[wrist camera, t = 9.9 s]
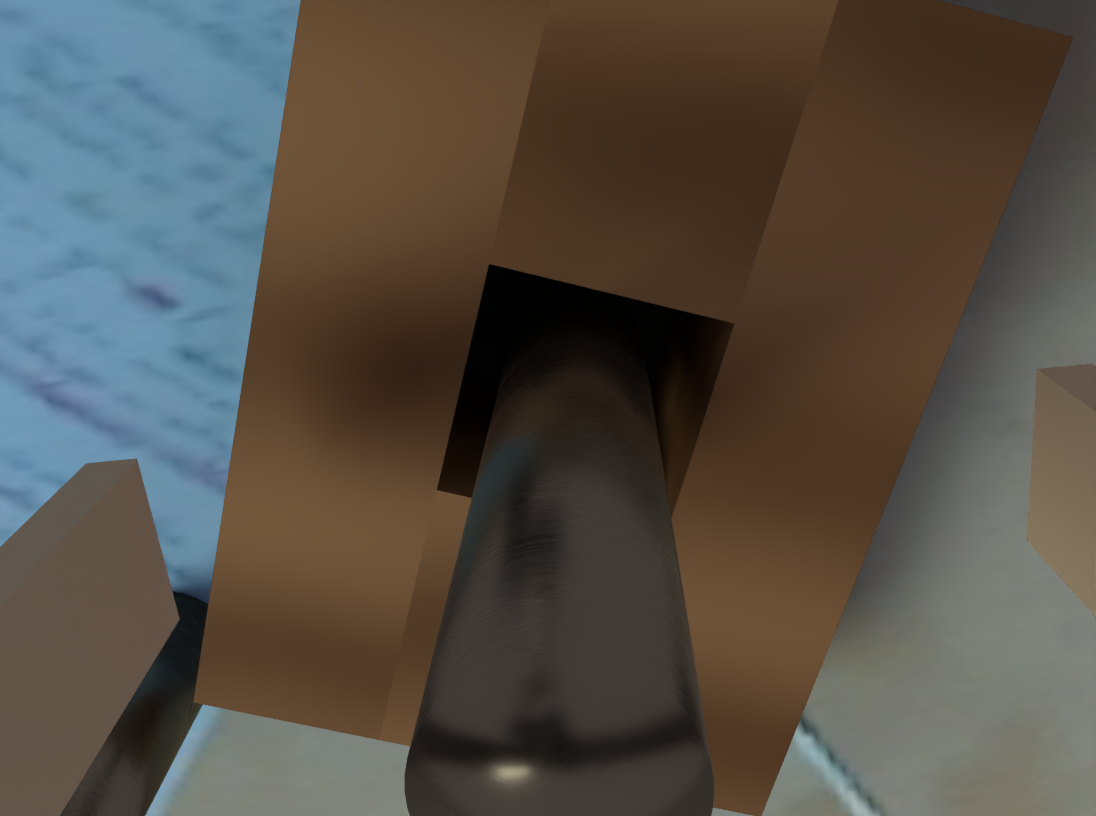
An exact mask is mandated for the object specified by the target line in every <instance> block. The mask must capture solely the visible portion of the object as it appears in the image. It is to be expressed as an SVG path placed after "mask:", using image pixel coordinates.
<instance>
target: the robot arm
mask: <svg viewBox="0 0 1096 816" xmlns="http://www.w3.org/2000/svg"><path fill="white" fill-rule="evenodd" d="M1027 541H1028V542H1029V543H1030V545H1031V546H1032V547H1033V548H1034V549H1035V550H1036V551H1037V552H1038V553H1039V555H1040V556H1041V557H1042V558H1043V559H1044V560H1045V561H1046V562H1047V563H1048V564H1049V566H1050V567H1051V568H1052V569H1053V570H1054V571H1055V572H1056V573H1057V574H1058V576H1059V577H1060V578H1061V579H1062V580H1063V581H1064V582H1065V583H1066V584H1067V585H1068V587H1069V588H1070V589H1071V590H1072V591H1073V592H1074V593H1075V594H1076V595H1077V597H1078V598H1079V599H1080V600H1081V601H1082V602H1083V603H1084V604H1085V605H1086V606H1087V608H1088V609H1089V610H1090V611H1091V612H1092V613H1093V614H1094V615H1095V616H1096V366H1094V365H1093V364H1086V365H1076V366H1066V367H1056V368H1045V369H1037V382H1036V398H1035V414H1034V431H1033V447H1032V463H1031V480H1030V496H1029V512H1028V529H1027ZM179 619H180V618H179V615H178V611H177V607H176V603H175V600H174V596H173V592H172V588H171V585H170V581H169V577H168V573H167V570H166V566H165V562H164V558H163V555H162V551H161V547H160V543H159V540H158V536H157V532H156V528H155V525H154V521H153V517H152V513H151V510H150V506H149V502H148V498H147V495H146V491H145V487H144V483H143V480H142V476H141V472H140V469H139V465H138V461H137V459H127V460H117V461H107V462H97V463H87V464H85V465H84V466H83V467H82V468H81V469H80V470H79V471H78V472H77V473H76V474H75V475H74V476H73V477H72V478H71V479H70V480H69V481H68V482H67V483H66V484H65V485H64V486H63V487H61V488H60V489H59V490H58V491H57V492H56V493H55V494H54V495H53V496H52V497H51V498H50V499H49V500H48V501H47V502H46V503H45V504H44V505H43V506H42V507H41V508H40V509H39V510H38V511H37V512H36V513H35V514H34V515H33V516H32V517H31V518H30V519H29V520H28V521H27V522H26V523H24V524H23V525H22V526H21V527H20V528H19V529H18V530H17V531H16V532H15V533H14V534H13V535H12V536H11V537H10V538H9V539H8V540H7V541H6V542H5V543H4V544H3V545H2V546H1V547H0V816H60V815H61V813H62V811H63V810H64V808H65V806H66V805H67V803H68V801H69V800H70V798H71V797H72V795H73V793H74V792H75V790H76V788H77V787H78V785H79V783H80V782H81V780H82V779H83V777H84V775H85V774H86V772H87V770H88V769H89V767H90V765H91V764H92V762H93V760H94V759H95V757H96V756H97V754H98V752H99V751H100V749H101V747H102V746H103V744H104V742H105V741H106V739H107V738H108V736H109V734H110V733H111V731H112V729H113V728H114V726H115V724H116V723H117V721H118V719H119V718H120V716H121V715H122V713H123V711H124V710H125V708H126V706H127V705H128V703H129V701H130V700H131V698H132V697H133V695H134V693H135V692H136V690H137V688H138V687H139V685H140V683H141V682H142V680H143V679H144V677H145V675H146V674H147V672H148V670H149V669H150V667H151V665H152V664H153V662H154V660H155V659H156V657H157V656H158V654H159V652H160V651H161V649H162V647H163V646H164V644H165V642H166V641H167V639H168V638H169V636H170V634H171V633H172V631H173V629H174V628H175V626H176V624H177V623H178V621H179Z"/></svg>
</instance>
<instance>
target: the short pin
mask: <svg viewBox="0 0 1096 816" xmlns="http://www.w3.org/2000/svg"><path fill="white" fill-rule="evenodd" d="M173 596H174V600H175V603H176V607H177V611H178V615H179V618H180V619H179V621H178V623H177V624H176V626H175V628H174V629H173V631H172V633H171V634H170V636H169V638H168V639H167V641H166V642H165V644H164V646H163V647H162V649H161V651H160V652H159V654H158V656H157V657H156V659H155V660H154V662H153V664H152V665H151V667H150V669H149V670H148V672H147V674H146V675H145V677H144V679H143V680H142V682H141V683H140V685H139V687H138V688H137V690H136V692H135V693H134V695H133V697H132V698H131V700H130V701H129V703H128V705H127V706H126V708H125V710H124V711H123V713H122V715H121V716H120V718H119V719H118V721H117V723H116V724H115V726H114V728H113V729H112V731H111V733H110V734H109V736H108V738H107V739H106V741H105V742H104V744H103V746H102V747H101V749H100V751H99V752H98V754H97V756H96V757H95V759H94V760H93V762H92V764H91V765H90V767H89V769H88V770H87V772H86V774H85V775H84V777H83V779H82V780H81V782H80V783H79V785H78V787H77V788H76V790H75V792H74V793H73V795H72V797H71V798H70V800H69V801H68V803H67V805H66V806H65V808H64V810H63V811H62V813H61V815H60V816H145V815H146V813H147V811H148V809H149V807H150V805H151V803H152V801H153V799H154V797H155V796H156V794H157V792H158V790H159V788H160V786H161V784H162V782H163V780H164V778H165V776H166V774H167V772H168V770H169V768H170V767H171V765H172V763H173V761H174V759H175V757H176V755H177V753H178V751H179V749H180V747H181V745H182V743H183V741H184V740H185V738H186V736H187V734H188V732H189V730H190V728H191V726H192V724H193V722H194V720H195V718H196V716H197V714H198V713H199V711H200V709H201V707H202V705H203V704H199V703H194V695H195V689H196V682H197V676H198V669H199V663H200V656H201V650H202V643H203V637H204V630H205V623H206V617H207V610H208V605H207V604H205V603H204V602H202V601H200V600H198V599H196V598H194V597H192V596H189V595H185V594H180V593H173Z"/></svg>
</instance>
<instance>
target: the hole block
mask: <svg viewBox="0 0 1096 816" xmlns="http://www.w3.org/2000/svg"><path fill="white" fill-rule="evenodd" d="M1072 39H1073V37H1070V36H1067V35H1063V34H1060V33H1056V32H1052V31H1049V30H1045V29H1041V28H1038V27H1034V26H1030V25H1027V24H1023V23H1019V22H1016V21H1012V20H1009V19H1005V18H1001V17H998V16H994V15H990V14H987V13H983V12H979V11H976V10H972V9H968V8H965V7H961V6H958V5H954V4H950V3H947V2H943V1H939V0H301V3H300V9H299V16H298V22H297V29H296V35H295V42H294V48H293V55H292V61H291V68H290V75H289V81H288V88H287V94H286V101H285V107H284V114H283V120H282V127H281V133H280V140H279V146H278V153H277V159H276V166H275V173H274V179H273V186H272V192H271V199H270V205H269V212H268V218H267V225H266V231H265V238H264V244H263V251H262V258H261V264H260V271H259V277H258V284H257V290H256V297H255V303H254V310H253V316H252V323H251V329H250V336H249V342H248V349H247V356H246V362H245V369H244V375H243V382H242V388H241V395H240V401H239V408H238V414H237V421H236V427H235V434H234V440H233V447H232V454H231V460H230V467H229V473H228V480H227V486H226V493H225V499H224V506H223V512H222V519H221V525H220V532H219V539H218V545H217V552H216V558H215V565H214V571H213V578H212V584H211V591H210V597H209V604H208V610H207V617H206V623H205V630H204V637H203V643H202V650H201V656H200V663H199V669H198V676H197V682H196V689H195V695H194V703H199V704H204V705H209V706H214V707H219V708H224V709H229V710H234V711H239V712H244V713H248V714H253V715H258V716H263V717H268V718H273V719H278V720H283V721H288V722H293V723H298V724H303V725H308V726H313V727H318V728H323V729H328V730H333V731H338V732H343V733H347V734H352V735H357V736H362V737H367V738H372V739H377V740H382V741H387V742H392V743H397V744H402V745H407V746H411V742H412V738H413V734H414V730H415V726H416V722H417V717H418V713H419V709H420V705H421V701H422V697H423V693H424V689H425V685H426V681H427V677H428V673H429V669H430V665H431V661H432V657H433V653H434V649H435V645H436V641H437V636H438V632H439V628H440V624H441V620H442V616H443V612H444V608H445V604H446V600H447V596H448V592H449V588H450V584H451V580H452V576H453V572H454V568H455V564H456V560H457V555H458V551H459V547H460V543H461V539H462V535H463V531H464V527H465V523H466V519H467V515H468V511H469V507H470V503H471V499H472V495H473V491H474V487H475V483H476V479H477V474H478V470H479V466H480V462H481V458H482V454H483V450H484V446H485V442H486V438H487V434H488V430H489V426H490V422H491V418H492V414H493V410H494V406H495V402H496V398H497V393H498V392H497V391H493V390H489V389H485V388H480V387H476V386H472V385H467V384H463V383H462V381H463V376H464V372H465V368H466V363H467V359H468V355H469V350H470V346H471V342H472V338H473V333H474V329H475V325H476V320H477V316H478V312H479V307H480V303H481V299H482V294H483V290H484V286H485V281H486V277H487V273H488V268H489V264H492V265H496V266H500V267H504V268H508V269H512V270H517V271H521V272H525V273H529V274H533V275H537V276H541V277H545V278H550V279H554V280H558V281H562V282H566V283H570V284H574V285H578V286H582V287H587V288H591V289H595V290H599V291H603V292H607V293H611V294H615V295H620V296H624V297H628V298H632V299H636V300H640V301H644V302H648V303H652V304H657V305H661V306H665V307H669V308H673V313H672V316H671V319H670V323H669V326H668V329H667V333H666V336H665V339H664V343H663V346H662V349H661V353H660V356H659V359H658V363H657V366H656V369H655V373H654V376H653V380H652V383H651V386H650V390H651V396H652V402H653V408H654V414H655V420H656V427H657V433H658V439H659V445H660V451H661V457H662V463H663V470H664V476H665V482H666V488H667V494H668V500H669V506H670V513H671V519H672V525H673V531H674V537H675V543H676V549H677V556H678V562H679V568H680V574H681V580H682V586H683V592H684V598H685V605H686V611H687V617H688V623H689V629H690V635H691V641H692V648H693V654H694V660H695V666H696V672H697V678H698V684H699V691H700V697H701V703H702V709H703V715H704V721H705V727H706V734H707V740H708V746H709V752H710V758H711V764H712V770H713V777H714V801H713V807H714V808H719V809H724V810H729V811H734V812H739V813H744V814H749V815H753V816H762V813H763V811H764V808H765V806H766V803H767V801H768V798H769V796H770V793H771V791H772V788H773V786H774V783H775V781H776V778H777V776H778V773H779V771H780V768H781V766H782V763H783V761H784V758H785V756H786V753H787V751H788V748H789V746H790V743H791V741H792V738H793V736H794V733H795V731H796V728H797V726H798V723H799V721H800V718H801V716H802V713H803V711H804V708H805V706H806V703H807V701H808V698H809V696H810V693H811V691H812V688H813V686H814V683H815V681H816V678H817V676H818V673H819V671H820V668H821V666H822V663H823V661H824V658H825V656H826V653H827V651H828V648H829V646H830V643H831V641H832V638H833V636H834V633H835V631H836V628H837V626H838V623H839V621H840V618H841V616H842V613H843V611H844V608H845V606H846V603H847V601H848V598H849V596H850V593H851V591H852V588H853V586H854V583H855V581H856V578H857V576H858V573H859V571H860V568H861V566H862V563H863V561H864V558H865V556H866V553H867V551H868V548H869V546H870V543H871V541H872V538H873V536H874V533H875V531H876V528H877V526H878V523H879V521H880V518H881V516H882V513H883V511H884V508H885V506H886V503H887V501H888V498H889V496H890V493H891V491H892V488H893V486H894V484H895V481H896V479H897V476H898V474H899V471H900V469H901V466H902V464H903V461H904V459H905V456H906V454H907V451H908V449H909V446H910V444H911V441H912V439H913V436H914V434H915V431H916V429H917V426H918V424H919V421H920V419H921V416H922V414H923V411H924V409H925V406H926V404H927V401H928V399H929V396H930V394H931V391H932V389H933V386H934V384H935V381H936V379H937V376H938V374H939V371H940V369H941V366H942V364H943V361H944V359H945V356H946V354H947V351H948V349H949V346H950V344H951V341H952V339H953V336H954V334H955V331H956V329H957V326H958V324H959V321H960V319H961V316H962V314H963V311H964V309H965V306H966V304H967V301H968V299H969V296H970V294H971V291H972V289H973V286H974V284H975V281H976V279H977V276H978V274H979V271H980V269H981V266H982V264H983V261H984V259H985V256H986V254H987V251H988V249H989V246H990V244H991V241H992V239H993V236H994V234H995V231H996V229H997V226H998V224H999V221H1000V219H1001V216H1002V214H1003V211H1004V209H1005V206H1006V204H1007V201H1008V199H1009V196H1010V194H1011V191H1012V189H1013V186H1014V184H1015V181H1016V179H1017V176H1018V174H1019V171H1020V169H1021V166H1022V164H1023V161H1024V159H1025V156H1026V154H1027V151H1028V149H1029V146H1030V144H1031V141H1032V139H1033V136H1034V134H1035V131H1036V129H1037V126H1038V124H1039V121H1040V119H1041V116H1042V114H1043V111H1044V109H1045V106H1046V104H1047V102H1048V99H1049V97H1050V94H1051V92H1052V89H1053V87H1054V84H1055V82H1056V79H1057V77H1058V74H1059V72H1060V69H1061V67H1062V64H1063V62H1064V59H1065V57H1066V54H1067V52H1068V49H1069V47H1070V44H1071V42H1072Z"/></svg>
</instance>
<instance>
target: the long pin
mask: <svg viewBox="0 0 1096 816" xmlns="http://www.w3.org/2000/svg"><path fill="white" fill-rule="evenodd" d="M405 796H406V802H407V808H408V811H409V814H410V816H711V814H712V809H713V801H714V777H713V770H712V764H711V758H710V752H709V746H708V740H707V734H706V727H705V721H704V715H703V709H702V703H701V697H700V691H699V684H698V678H697V672H696V666H695V660H694V654H693V648H692V641H691V635H690V629H689V623H688V617H687V611H686V605H685V598H684V592H683V586H682V580H681V574H680V568H679V562H678V556H677V549H676V543H675V537H674V531H673V525H672V519H671V513H670V506H669V500H668V494H667V488H666V482H665V476H664V470H663V463H662V457H661V451H660V445H659V439H658V433H657V427H656V420H655V414H654V408H653V402H652V396H651V390H650V384H649V377H648V371H647V365H646V359H645V353H644V347H643V341H642V334H641V328H640V322H639V316H638V310H637V305H636V301H635V299H632V298H628V297H624V296H620V295H615V294H611V293H607V292H603V291H599V290H595V289H591V288H587V287H582V286H578V285H574V284H570V283H566V282H562V281H558V280H554V279H550V278H545V277H541V276H537V275H536V276H535V277H534V278H533V280H532V281H531V282H530V283H529V285H528V286H527V288H526V289H525V291H524V293H523V295H522V298H521V301H520V304H519V308H518V312H517V316H516V321H515V325H514V329H513V333H512V337H511V341H510V345H509V349H508V353H507V357H506V361H505V365H504V369H503V373H502V377H501V381H500V385H499V389H498V393H497V398H496V402H495V406H494V410H493V414H492V418H491V422H490V426H489V430H488V434H487V438H486V442H485V446H484V450H483V454H482V458H481V462H480V466H479V470H478V474H477V479H476V483H475V487H474V491H473V495H472V499H471V503H470V507H469V511H468V515H467V519H466V523H465V527H464V531H463V535H462V539H461V543H460V547H459V551H458V555H457V560H456V564H455V568H454V572H453V576H452V580H451V584H450V588H449V592H448V596H447V600H446V604H445V608H444V612H443V616H442V620H441V624H440V628H439V632H438V636H437V641H436V645H435V649H434V653H433V657H432V661H431V665H430V669H429V673H428V677H427V681H426V685H425V689H424V693H423V697H422V701H421V705H420V709H419V713H418V717H417V722H416V726H415V730H414V734H413V738H412V742H411V746H410V750H409V754H408V758H407V764H406V770H405Z"/></svg>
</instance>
